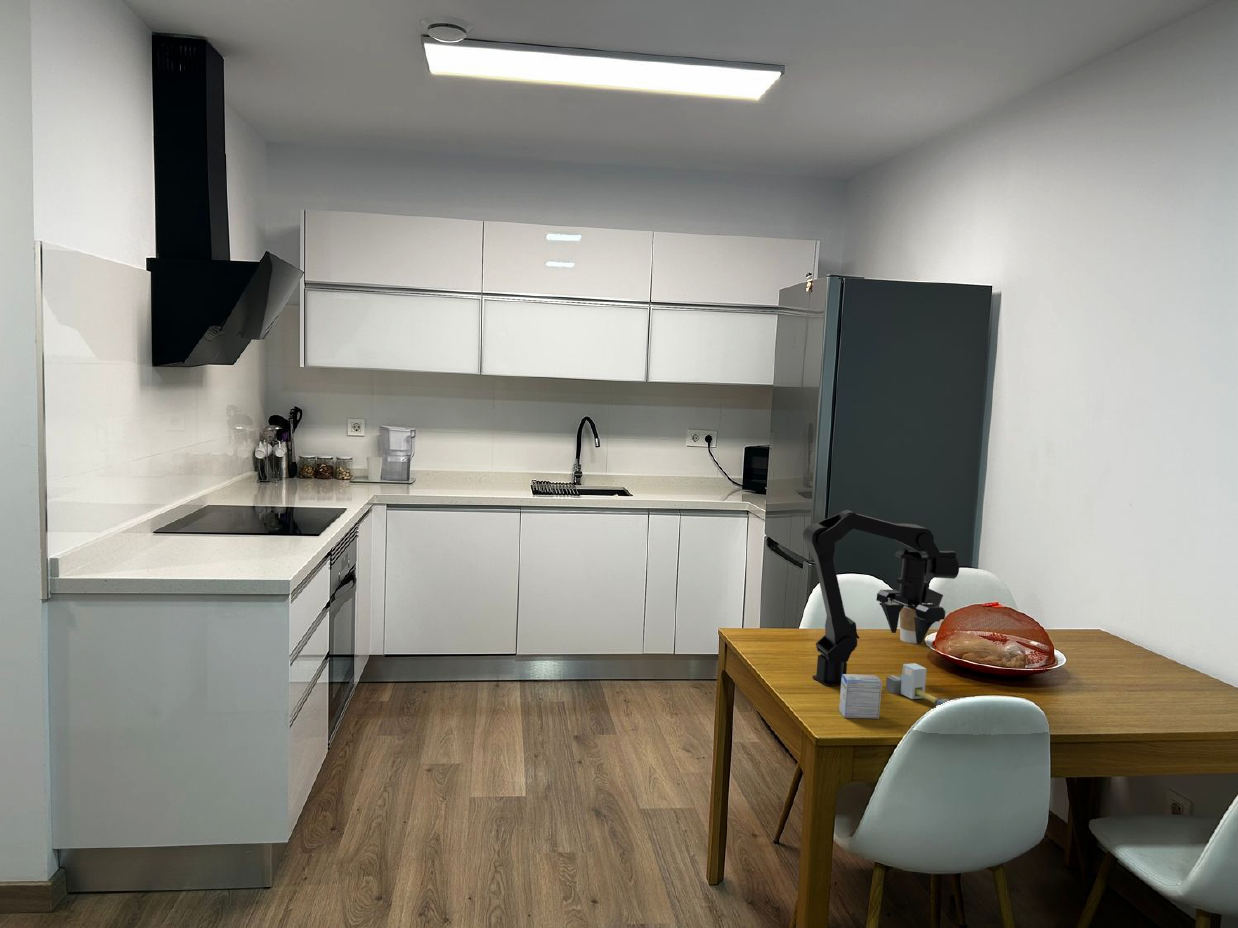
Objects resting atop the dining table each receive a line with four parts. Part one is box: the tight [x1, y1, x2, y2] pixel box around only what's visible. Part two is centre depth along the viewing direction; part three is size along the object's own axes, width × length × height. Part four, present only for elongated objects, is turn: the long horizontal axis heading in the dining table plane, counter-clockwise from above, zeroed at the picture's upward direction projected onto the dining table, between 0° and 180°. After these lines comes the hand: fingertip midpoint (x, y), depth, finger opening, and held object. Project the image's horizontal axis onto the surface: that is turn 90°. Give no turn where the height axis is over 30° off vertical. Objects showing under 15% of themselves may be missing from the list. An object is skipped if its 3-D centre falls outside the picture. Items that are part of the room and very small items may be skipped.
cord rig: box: [885, 673, 951, 706], centre depth 215 cm, size 6×19×4 cm, turn 22°
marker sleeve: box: [900, 662, 927, 700], centre depth 218 cm, size 4×4×7 cm
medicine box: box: [838, 673, 883, 720], centre depth 204 cm, size 8×4×9 cm, turn 92°
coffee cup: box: [899, 603, 925, 644], centre depth 266 cm, size 8×8×15 cm
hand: (906, 638), depth 228 cm, fingers open, 9 cm apart
